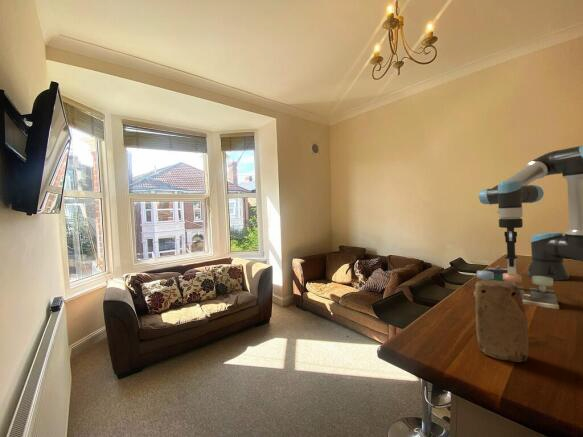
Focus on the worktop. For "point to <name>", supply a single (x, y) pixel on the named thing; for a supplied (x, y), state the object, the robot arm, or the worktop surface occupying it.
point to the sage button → (542, 282)
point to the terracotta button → (512, 278)
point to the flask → (497, 273)
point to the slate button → (485, 275)
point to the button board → (527, 301)
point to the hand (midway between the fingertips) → (511, 273)
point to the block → (501, 321)
